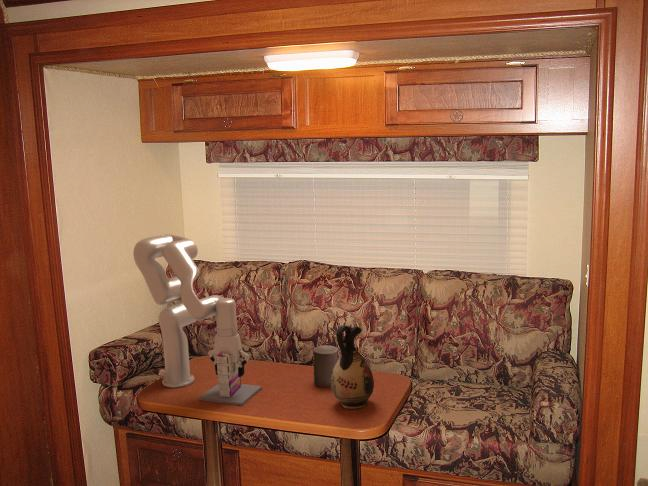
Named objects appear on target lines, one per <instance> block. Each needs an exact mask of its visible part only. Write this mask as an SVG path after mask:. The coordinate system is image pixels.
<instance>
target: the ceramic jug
mask: <svg viewBox="0 0 648 486" xmlns="http://www.w3.org/2000/svg"><path fill="white" fill-rule="evenodd" d="M362 332H363V329H362V328H360V327H359V326H356V325H355V326H353V327H352V326H351V325H345V324H341V325H339V326H338V327H337V329H336V342H337V344H338V345H337V346H338V348H339V351H340V352H341V354H340V355H339V356H338V361H337V363H336V364H335V367H334V369H333V372H332V376H331V387H330V388H331V392H332V393H333V395H334V397H335V398H336V399H337V400H338V401H339V402H340V404H341V406H342V407H343V408H344V409H362V408H365V407H367V406H368V400H369V398H371V396H372V395H373V392H374V389H375V388H374V387H375V379H374V376H373V373H372V370H371V368H370V367H371V366H369V363H368V362H367V361H366V359H365V358H364V356H363V355H362V354H361V353H360V351H358V349H357V348H356V346H355V339H356V338H357V336H359V335H360V334H361V333H362ZM343 334H344V335H343ZM343 336H344V337H343Z"/></svg>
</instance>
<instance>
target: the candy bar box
mask: <svg viewBox="0 0 648 486" xmlns="http://www.w3.org/2000/svg"><path fill="white" fill-rule="evenodd" d="M216 361H217V373H218V375H217V384H218V385H219V396H220V397H232V396H233V394H234V393H235V392H236V391H237V390H238V389H239V388H240V387H241V384H242V380H241V379H242V377H238V367H239V365H238V364H237V363H231V357H230V354H227V353H219V354H218V355H216Z"/></svg>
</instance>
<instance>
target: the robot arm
mask: <svg viewBox="0 0 648 486" xmlns="http://www.w3.org/2000/svg"><path fill="white" fill-rule="evenodd" d="M198 252H199V251H198V246H197V244H196V243H195V242H194V241H193V240H192V239H190V238H187V237H183V236H179V235H174V234H169V233H168V234H159V235H155V236H150V237H146V238H143V239H141V240H139V241H137V243H135V245H134V247H133V252H132V253H133V260H134V262H135V265H136V266H137V268H138V270H139V271H140V273H141V275H142V276H143V278H144V281H145V283H146V286H147V288H148V290H149V293H150V295H151V297H152V298H153V301H154V302H155V303H156V304H157V305H160V306H161V305H162V306H164V305H168V304H170V303H174V302H176V304H173V305H169V306H167V307H165V308H162V310H161V311H160V312H159V314H158V324H159V327H160V331H161V337H162V345H163V357H164V369H162V368H160V369H159V371H158V374H157V375H158V376H159V377H163V379H162V381H161V382H162V385H163V386H164V387H167V388H182V387H186V386H189V385H191V384H192V383H194V381H195V376H194V375H193V374H191V369H190V358H189V357H190V355H189V342H188V336H187V334H186V332H185V331H184V330H183V328H185V327H186V326H189V325H192V324H194V323H196V322H197V321H203V320H206V319H208V318H211V317H214V316H215V320H216V327H214V328H213V329H214V331H215V332H216V334H215V335H214V343H213V349H211V350H209V351H208V352H207V354H208V356H209V358H210V361H212V363H213V365H214V372H215V376H218V373H217V361H216V355H218V354H219V353H227V354H230V357H231V363H237V364H238V365H239V367H238V377H241V378H242V377H243V376H244V375H245V365H246V364H247V363H248V362H249V359H250V358H251V356H250V354H248V353H247V352H246V351H244V350H243V348H242V347H243V346H242V340H241V337H240V334H239V333H238V323H237V322H238V319H237V305H236V300H235V299H233V298H232V297H231V298H230V297H223V296H220V295H218V294H213V295H212V294H211V295H209V296H205V297H202V298H200V299H199V298H198V295H196V292H195V291H194V287H193V284H194V281H195V280H196V279H197V278H198V277H199V276H200V272H201V271H200V269H199V267H198V266H197V264H196V263H195V262H194V260H193V259H195V258H196V257H197V255H198ZM161 257H163V259H164V260H165V261H166V263H167V264H168V266H169V268H170V270H172V272H173V273H174V275H175V276H174V277H170V278H169V277H168V275H167V272H166V269H165V268H164V266H163V265H162V264H160V263H159V262H158V261H157V260H155V259H157V258H161ZM243 358H244V359H243Z"/></svg>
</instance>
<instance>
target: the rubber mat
mask: <svg viewBox="0 0 648 486" xmlns="http://www.w3.org/2000/svg"><path fill="white" fill-rule="evenodd" d="M262 388H263V387H262V385H252V384H246V383H245V384H244V383H241V387H240V388H239V389H238V390H237V391H236V392H235V393H234V394H233V396H232V397H220V396H219V385H218V383H217V384H216V385H214V386H213V387H211V388H210V389H208V390H207V391H206V392H205V393H203V394H202V395H201V396H199V398H198V399H199V401H204V402H213V403H219V404H228V405H235V406H244V405H245V404H246V403H247V402H248V401H250V399H252V398H253V397H254V396H255V395H257V394H258V393H259V392H260V391H262V390H263V389H262Z"/></svg>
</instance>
